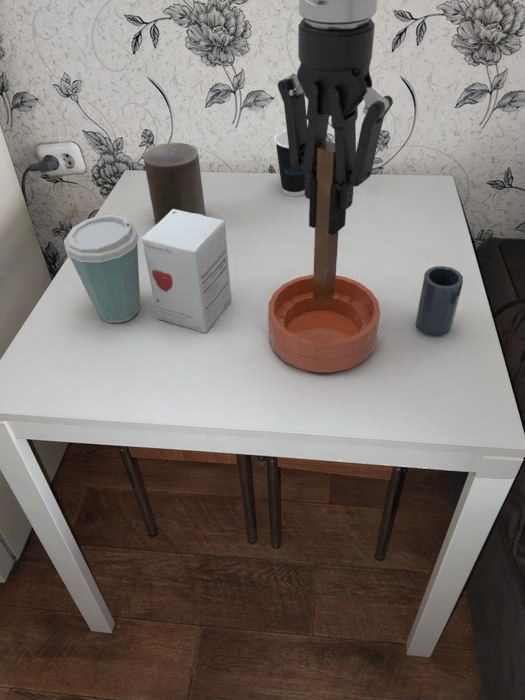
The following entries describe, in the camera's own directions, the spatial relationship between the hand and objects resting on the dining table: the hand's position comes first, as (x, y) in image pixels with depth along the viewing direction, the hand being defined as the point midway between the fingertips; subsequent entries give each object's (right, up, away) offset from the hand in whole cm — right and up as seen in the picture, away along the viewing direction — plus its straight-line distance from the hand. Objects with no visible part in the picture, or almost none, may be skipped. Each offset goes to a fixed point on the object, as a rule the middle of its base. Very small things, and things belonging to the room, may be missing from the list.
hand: (326, 225), depth 74 cm
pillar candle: (-24, +9, +38) cm, 46 cm away
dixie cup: (-1, +17, +46) cm, 49 cm away
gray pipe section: (+18, -12, +14) cm, 26 cm away
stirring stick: (0, -8, +8) cm, 12 cm away
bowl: (+1, -14, +13) cm, 19 cm away
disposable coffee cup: (-31, -9, +20) cm, 38 cm away
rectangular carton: (-19, -9, +19) cm, 29 cm away
